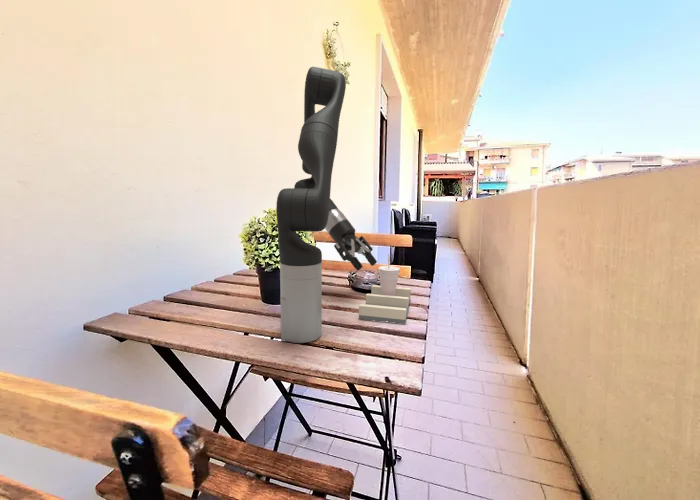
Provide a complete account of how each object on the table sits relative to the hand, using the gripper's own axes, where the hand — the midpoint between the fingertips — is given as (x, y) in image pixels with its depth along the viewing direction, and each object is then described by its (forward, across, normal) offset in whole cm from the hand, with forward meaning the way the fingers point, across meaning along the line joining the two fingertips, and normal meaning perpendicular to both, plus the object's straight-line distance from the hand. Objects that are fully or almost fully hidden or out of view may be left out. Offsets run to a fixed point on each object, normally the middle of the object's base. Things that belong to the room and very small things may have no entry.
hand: (367, 266), depth 103 cm
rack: (+14, -4, +1) cm, 15 cm away
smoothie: (+12, 0, +1) cm, 12 cm away
